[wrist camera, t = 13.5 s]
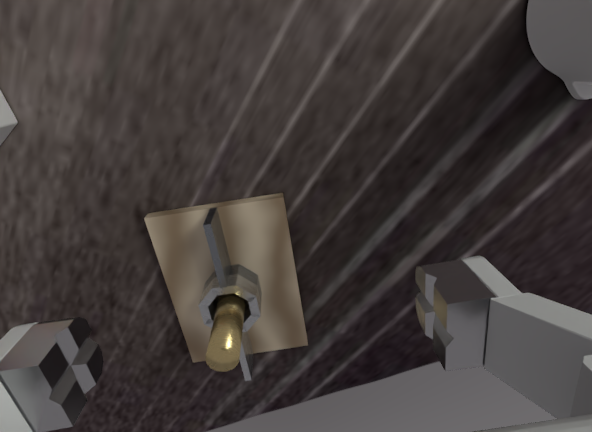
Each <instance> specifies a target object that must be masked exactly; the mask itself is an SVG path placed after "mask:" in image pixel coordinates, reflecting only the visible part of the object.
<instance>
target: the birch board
mask: <svg viewBox="0 0 592 432" xmlns="http://www.w3.org/2000/svg"><path fill="white" fill-rule="evenodd" d="M216 207H217V210H218V214H219V218H220V222H221V226H222V230H223V234H224V238H225V242H226V246H227V250H228V254H229V258H230V262H231V265H236V264H240V265H242V266H244V267H245V268H247V269H249V270H250V271H252V272H254V273H255V274H257V275H258V278H259V283H260V287H261V292H262V297H261V316H260V317H259V318H258V319H257V321H256V322H255V323H254V324H253V325H252V326H251V328H250V329H249V330H248V334H249V338H250V342H251V346H252V350H253V354H254V353H260V352H267V351H274V350H280V349H287V348H294V347H300V346H307V345H308V341H307V334H306V328H305V322H304V316H303V310H302V304H301V298H300V292H299V286H298V280H297V274H296V268H295V262H294V256H293V250H292V244H291V238H290V232H289V226H288V220H287V214H286V208H285V202H284V196H283V193H278V194H271V195H265V196H258V197H252V198H245V199H239V200H232V201H226V202H219V203H213V204H206V205H200V206H193V207H187V208H180V209H173V210H167V211H160V212H154V213H148V214H147V215H146V217H145V218H144V220H145V223H146V226H147V229H148V232H149V235H150V238H151V241H152V244H153V246H154V249H155V252H156V255H157V258H158V261H159V264H160V267H161V270H162V273H163V276H164V279H165V282H166V285H167V287H168V290H169V293H170V296H171V299H172V302H173V305H174V308H175V311H176V314H177V317H178V320H179V323H180V326H181V328H182V331H183V334H184V337H185V340H186V343H187V346H188V349H189V352H190V355H191V358H192V361H193V363H194V362H201V361H206V360H205V357H206V352H207V348H208V343H209V339H210V335H211V330H212V328H210V327H208V326H206V325H204V322H203V319H202V316H201V312H200V309H199V306H198V305H199V302H200V299H201V295H202V292H203V289H204V285H205V282H206V281H207V280H208V279H209V277H210V276H211V275H212V273H213V272H214V271H215V268H214V264H213V260H212V257H211V253H210V249H209V246H208V242H207V238H206V234H205V231H204V227H203V224H204V222H205V219H206V217H207V214H208V212H209V210H210V208H216ZM217 297H218V298H219V295H217Z"/></svg>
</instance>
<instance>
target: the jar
mask: <svg viewBox="0 0 592 432" xmlns="http://www.w3.org/2000/svg"><path fill="white" fill-rule="evenodd" d="M17 123H18V121H17V119H16V118H15V116H14V114H13V112H12V110H11V108H10V107H9V105H8V103H7V101H6V99H5V97H4V96H3V94H2V92H1V90H0V145H1V144H2V143H3V141H4V140H5V139H6V138H7V136H8V135H9V134H10V132H11V131H12V130H13V128H14V127H15V126H16V124H17Z"/></svg>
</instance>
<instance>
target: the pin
mask: <svg viewBox="0 0 592 432" xmlns="http://www.w3.org/2000/svg"><path fill="white" fill-rule="evenodd" d="M245 304H246V300H245V299H244V298H242V297H240V296H238V295H237V294H235V293H231V294H224V295H219V299H218V304H217V308H216V312H215V317H214V321H213V326H212V330H211V335H210V339H209V343H208V348H207V352H206V357H205V360H206V363H207V365H208V366H209V367H210V368H212V369H213V370H216V371H221V372H224V371H229V370H232V369H234V368H235V367H236V366H237V365H238V363H239V358H240V349H241V340H242V331H243V322H244V313H245Z"/></svg>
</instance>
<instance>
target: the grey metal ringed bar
mask: <svg viewBox="0 0 592 432" xmlns="http://www.w3.org/2000/svg"><path fill="white" fill-rule="evenodd" d="M203 227H204V231H205V234H206V238H207V242H208V246H209V249H210V253H211V257H212V260H213V264H214V268H215V271H214V272H213V273H212V275H211V276H210V277H209V279H208V280H207V281H206V282H205V285H204V289H203V292H202V295H201V299H200V302H199V305H198V306H199V309H200V312H201V316H202V319H203V322H204V325H206V326H208V327H210V328H212V326H213V321H214V317H215V312H216V308H217V304H218V299H219V298H218V297H217V295H224V294H231V293H235V294H237V295H238V296H240V297H242V298H244V299H245V300H246V304H245V313H244V322H243V331H242V340H241V349H240V358H239V360H240V363H241V367H242V371H243V374H244V378H245V381H248V380H252V367H253V350H252V346H251V342H250V338H249V334H248V330H249V329H250V328H251V326H252V325H253V324H254V323H255V322H256V321H257V319H258V318H259V317H260V316H261V297H262V292H261V287H260V283H259V278H258V275H257V274H255V273H254V272H252V271H250V270H249V269H247V268H245V267H244V266H242V265H240V264H236V265H231V262H230V258H229V254H228V250H227V246H226V242H225V238H224V234H223V230H222V226H221V222H220V218H219V214H218V210H217V207H216V208H210V210H209V212H208V214H207V217H206V219H205V222H204V224H203Z"/></svg>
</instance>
